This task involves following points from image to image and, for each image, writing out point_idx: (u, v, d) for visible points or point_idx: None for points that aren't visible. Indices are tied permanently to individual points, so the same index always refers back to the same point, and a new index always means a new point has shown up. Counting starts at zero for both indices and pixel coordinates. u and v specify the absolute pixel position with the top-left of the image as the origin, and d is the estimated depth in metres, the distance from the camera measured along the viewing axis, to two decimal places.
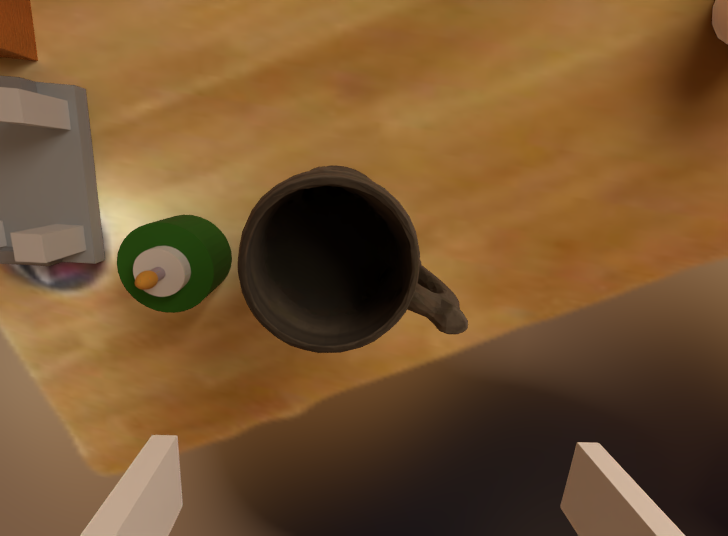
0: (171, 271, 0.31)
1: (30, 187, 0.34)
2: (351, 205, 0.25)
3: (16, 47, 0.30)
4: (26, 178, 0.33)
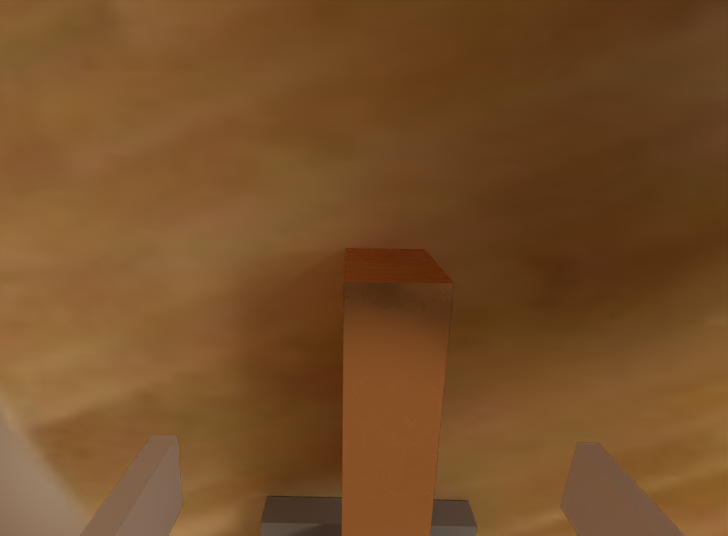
0: None
1: None
2: None
3: None
4: None
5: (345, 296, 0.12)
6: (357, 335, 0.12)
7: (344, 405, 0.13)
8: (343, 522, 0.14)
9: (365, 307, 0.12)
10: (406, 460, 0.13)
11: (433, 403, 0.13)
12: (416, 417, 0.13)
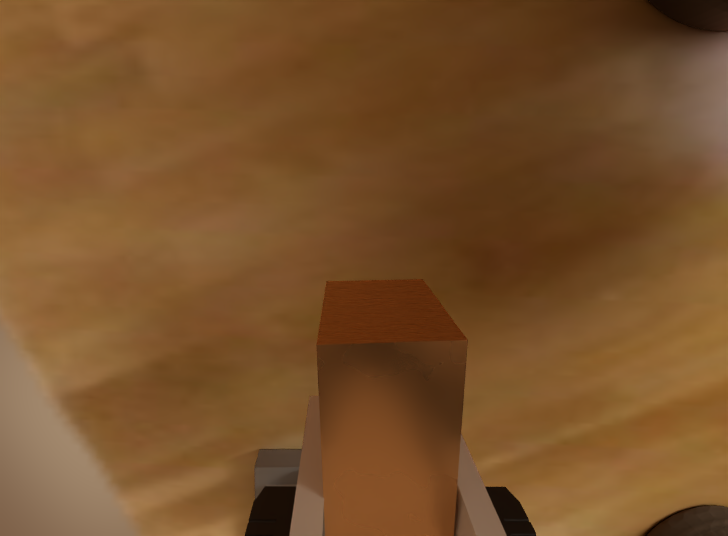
0: None
1: None
2: None
3: None
4: None
5: (320, 363, 0.08)
6: (338, 414, 0.09)
7: (325, 503, 0.09)
8: None
9: (348, 376, 0.09)
10: None
11: (444, 494, 0.10)
12: (422, 513, 0.10)
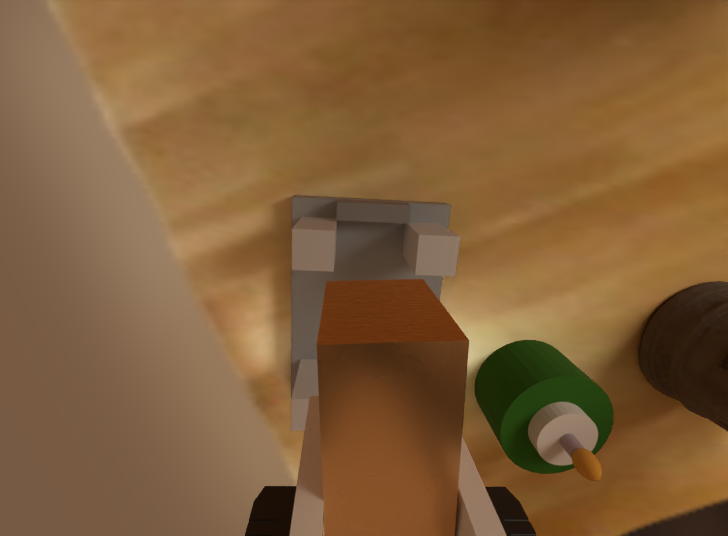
0: (582, 437, 0.25)
1: None
2: None
3: None
4: None
5: (319, 363, 0.08)
6: (338, 414, 0.09)
7: (325, 504, 0.09)
8: None
9: (348, 377, 0.09)
10: None
11: (445, 496, 0.10)
12: (422, 514, 0.10)
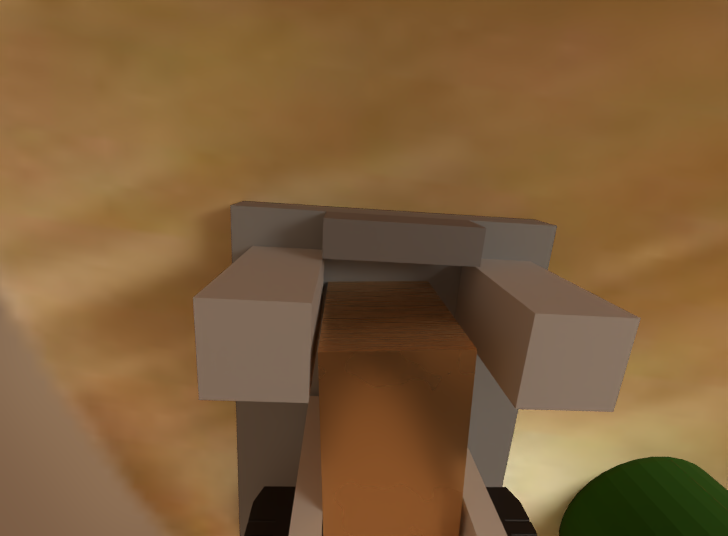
0: None
1: None
2: None
3: None
4: None
5: (321, 372, 0.08)
6: (339, 424, 0.08)
7: (325, 515, 0.09)
8: None
9: (350, 386, 0.08)
10: None
11: (448, 508, 0.09)
12: (425, 526, 0.09)
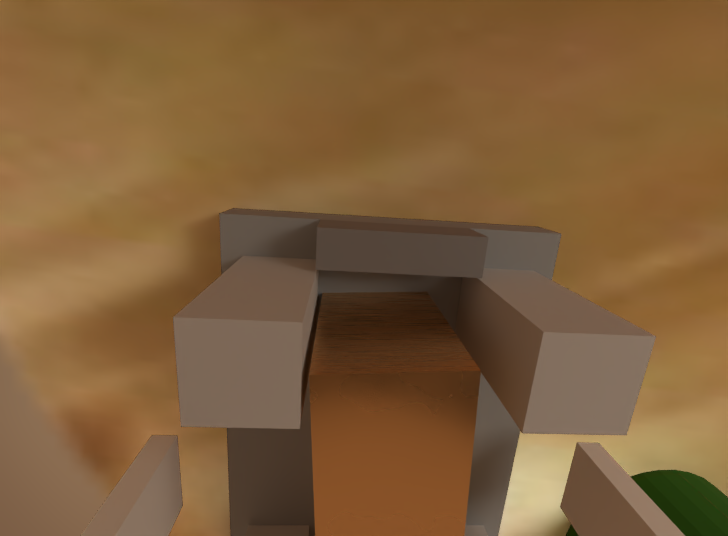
0: None
1: None
2: None
3: None
4: None
5: (312, 396, 0.07)
6: (333, 451, 0.08)
7: None
8: None
9: (344, 410, 0.08)
10: None
11: None
12: None
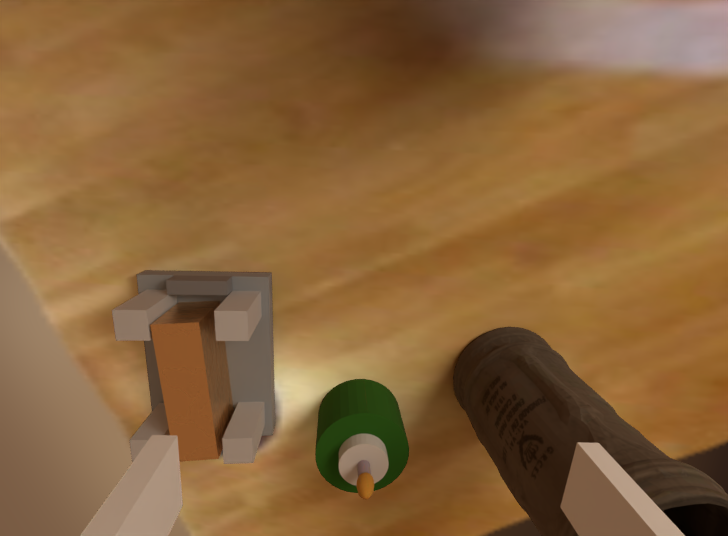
0: (376, 463, 0.31)
1: None
2: None
3: None
4: None
5: (152, 330, 0.27)
6: (160, 347, 0.27)
7: (160, 379, 0.28)
8: None
9: (161, 334, 0.27)
10: (195, 404, 0.29)
11: (202, 376, 0.28)
12: (195, 383, 0.28)
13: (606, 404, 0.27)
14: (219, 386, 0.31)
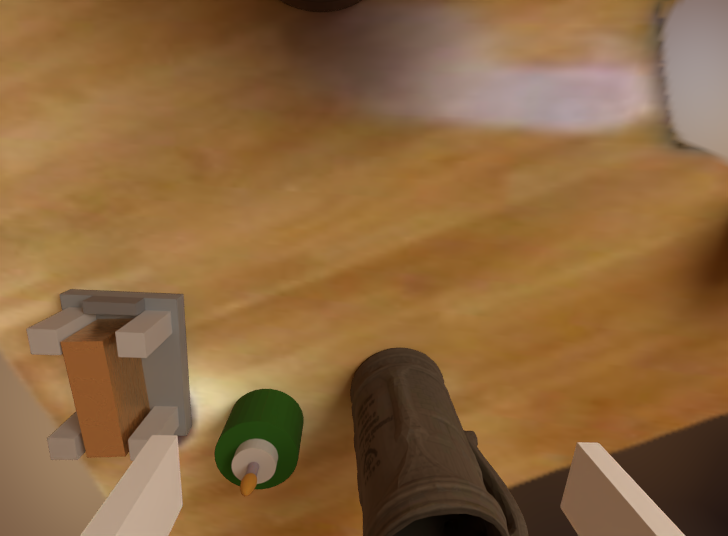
0: (264, 464, 0.36)
1: None
2: None
3: None
4: None
5: (62, 347, 0.32)
6: (70, 361, 0.32)
7: (71, 388, 0.33)
8: (83, 437, 0.34)
9: (70, 350, 0.32)
10: (103, 410, 0.33)
11: (107, 386, 0.33)
12: (102, 392, 0.33)
13: (447, 424, 0.31)
14: (130, 394, 0.36)
